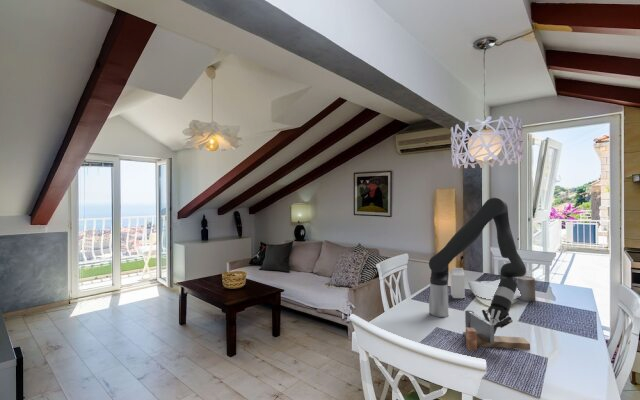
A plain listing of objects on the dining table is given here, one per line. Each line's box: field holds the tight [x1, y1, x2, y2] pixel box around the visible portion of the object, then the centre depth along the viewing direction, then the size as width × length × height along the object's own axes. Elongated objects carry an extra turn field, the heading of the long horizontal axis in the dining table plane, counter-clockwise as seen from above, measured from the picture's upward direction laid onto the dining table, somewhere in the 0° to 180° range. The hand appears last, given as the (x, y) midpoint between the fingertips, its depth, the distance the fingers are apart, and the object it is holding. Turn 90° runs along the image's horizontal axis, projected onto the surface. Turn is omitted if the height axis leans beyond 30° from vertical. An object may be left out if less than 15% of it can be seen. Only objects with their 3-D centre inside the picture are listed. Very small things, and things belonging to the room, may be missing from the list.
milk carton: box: [450, 267, 466, 299], centre depth 205 cm, size 7×7×19 cm
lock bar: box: [464, 310, 495, 344], centre depth 141 cm, size 17×4×10 cm, turn 8°
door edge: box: [462, 326, 531, 351], centre depth 140 cm, size 26×18×8 cm
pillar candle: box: [516, 275, 536, 302], centre depth 198 cm, size 10×10×15 cm
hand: (490, 333), depth 136 cm, fingers closed
